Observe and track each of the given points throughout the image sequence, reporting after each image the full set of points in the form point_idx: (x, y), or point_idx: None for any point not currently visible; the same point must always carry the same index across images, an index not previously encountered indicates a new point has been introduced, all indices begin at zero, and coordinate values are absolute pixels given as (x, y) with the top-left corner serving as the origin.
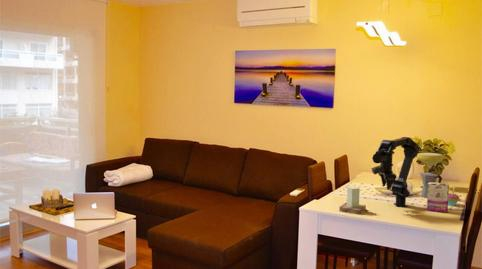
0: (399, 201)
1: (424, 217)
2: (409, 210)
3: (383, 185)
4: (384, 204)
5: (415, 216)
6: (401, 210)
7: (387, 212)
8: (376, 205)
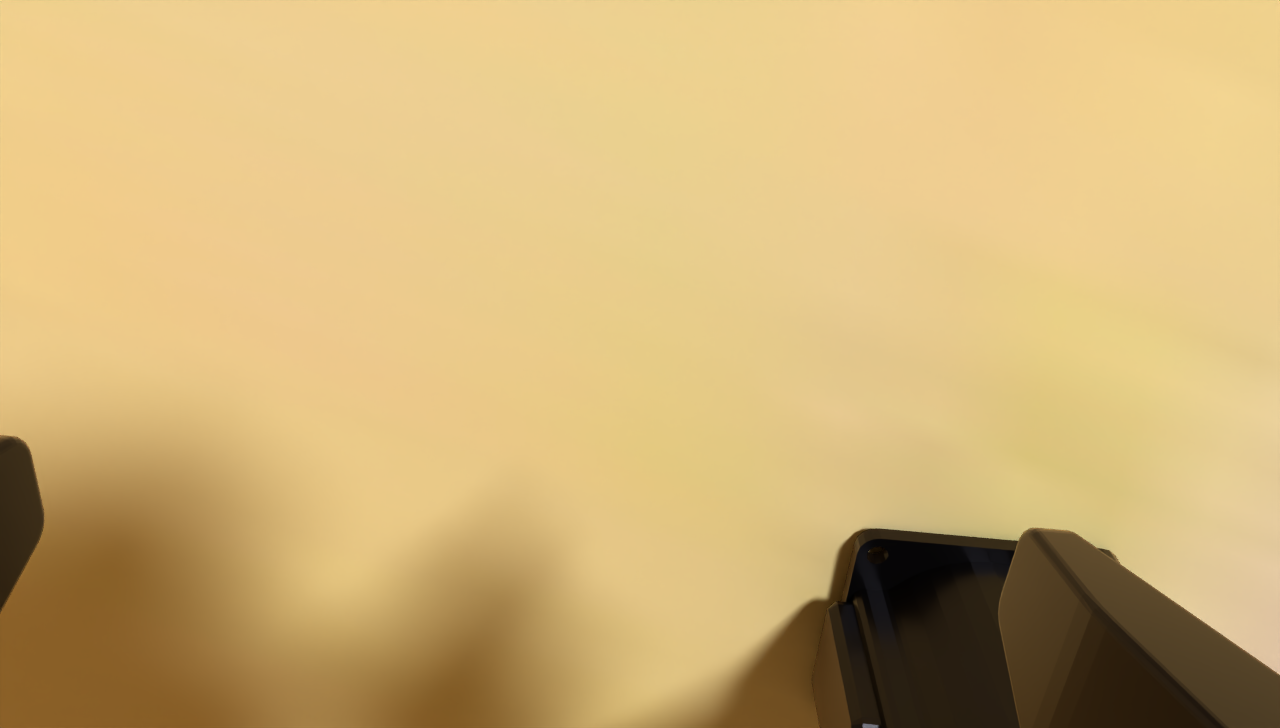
0: (878, 667)
1: (56, 713)
2: (545, 654)
3: (1030, 579)
4: (1134, 322)
5: (88, 597)
6: (540, 508)
7: (323, 108)
8: (1085, 51)
